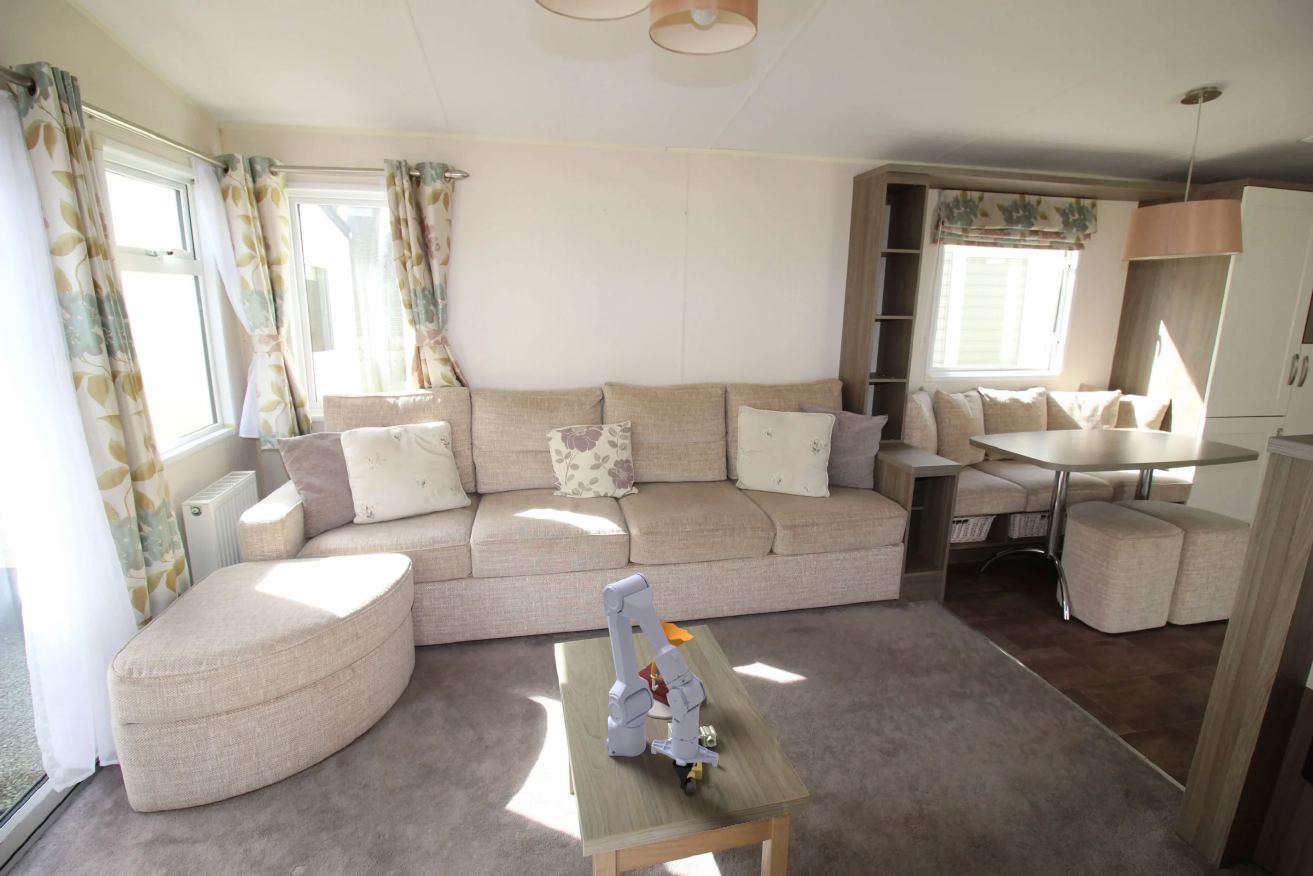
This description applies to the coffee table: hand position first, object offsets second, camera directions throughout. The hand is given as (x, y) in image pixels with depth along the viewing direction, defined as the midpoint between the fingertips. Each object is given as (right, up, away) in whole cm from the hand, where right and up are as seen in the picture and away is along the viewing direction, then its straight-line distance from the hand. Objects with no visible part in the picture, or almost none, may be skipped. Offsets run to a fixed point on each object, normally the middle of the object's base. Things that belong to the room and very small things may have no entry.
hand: (683, 785), depth 132 cm
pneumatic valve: (+8, +4, +14) cm, 17 cm away
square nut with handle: (+2, 0, +3) cm, 4 cm away
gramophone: (-4, +5, +33) cm, 33 cm away
